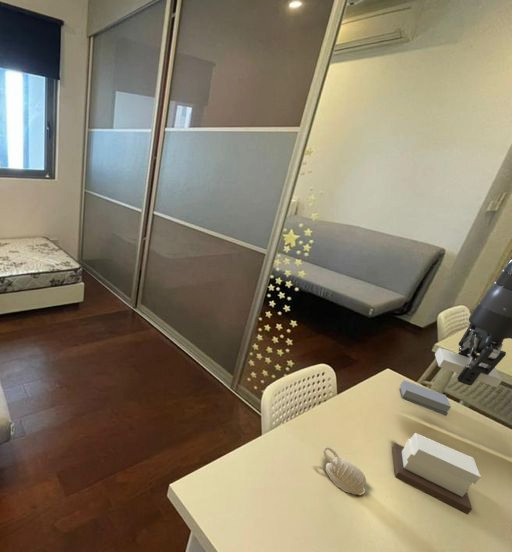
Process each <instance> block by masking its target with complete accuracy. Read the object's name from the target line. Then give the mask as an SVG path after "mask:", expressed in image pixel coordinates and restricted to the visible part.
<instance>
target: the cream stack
mask: <svg viewBox="0 0 512 552" xmlns="http://www.w3.org/2000/svg"><path fill="white" fill-rule="evenodd" d="M391 448H392V449H391V451H392V459H393V460H392V461H393V468H394V469H393V470H394V477H395V478H396V479H399V480H400V481H402V482H405V483H406V484H408V485H410V486H412V487H414V488H416V489H418V490H420V491H422V492H424V493H426V494H428V495H429V496H432V497H434V498H436V499H437V500H439V501H442V502H443V503H446V504H447V505H449V506H451V507H454V508H455V509H457V510H459V511H461V512H463V513H465V514H469V513H471V511H472V510H473V508H472V504H471V500H470V498H469V495H468V491H469V488H470V487H471V486H472V484H474V485H476V484H477V482H479V480H480V479H481V478H482V475H481V474H480V471H479V469H478V466H477V464H476V460H475V459H474V457H472V456H470V455H468V454H466V453H464V452H460V451H458V450H456V449H454V448H452V447H450V446H447V445H444V444H442V443H439V442H438V441H435V440H433V439H432V438H431V439H430V438H428V437H427V436H424V435H422V434H419V433H416V432H414V433H413V435H412V437H411V438H410V437H409V438H408V440H407V441H406V442H405V444H404V446H403V445H400V444H398V443H396V442H394V443H393V445H392V446H391Z"/></svg>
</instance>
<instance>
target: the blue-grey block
mask: <svg viewBox="0 0 512 552" xmlns="http://www.w3.org/2000/svg"><path fill="white" fill-rule="evenodd" d="M399 387H400V395H401V399H404V400H406V401H408V402H410V403H413V404H415V405H418V406H421V407H423V408H425V409H428V410H431V411H433V412H435V413H438V414H440V415H443V416H446V417H447V415H448V414H449V412H448V411H449V410H450V409H451V408H452V406H451V403H450V401H449V399H448V397H447V395H446V394H443V393H441V392H438V391H435V390H432V389H429V388H427V387H424V386H421V385H419V384H416V383H413V382H410V381H407V380H405V379H402V381H401V383H400V385H399Z"/></svg>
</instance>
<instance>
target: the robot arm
mask: <svg viewBox="0 0 512 552" xmlns="http://www.w3.org/2000/svg"><path fill="white" fill-rule="evenodd" d="M468 322H469V326H468V327H467V329H466V331H465V332H464V334H463V335H462V337H461V339H460V340H459V341H458V347H459V348H458V353H457V354H460V355H463V356H466V357H469V360H468V363H467V364H466V366H465V368H464V369H463V371H462V372H461V373H460V374H458V376H457V381H458V382H459V383H462V384H464V385H466V386H473V384H474V383H475V382H476V381H477V380H476V379H477V378H478V376H479V375H480V373H483V374H486V375H488V374H489V373H490V372H491V371H492V370H493V369H494V368H496V367H497V365H498V364H499V363H500V362H501V361H502V360H503V359H504V358H505V356H506V355H507V353H506V351H504V350H502V348H503V346H504V345H503V342H504V340H507V339H511V340H512V259H511V260H509V261H508V263H506V265H505V266H504V268H503V269H502V270H501V272H500V274H499V275H498V277H497V278H496V280H495V281H494V283H493V284H492V285H491V286H490V287H489V288H488V289H487V290H486V291H485V293H484V294H483V296H482V298H481V299H480V300H479V302H478V304H477V305H476V306H475V308H474V310H473V311H472V312H471V314H470V316H469V317H468ZM480 363H482V364H481V366H479V364H480Z"/></svg>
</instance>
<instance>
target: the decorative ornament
mask: <svg viewBox="0 0 512 552" xmlns="http://www.w3.org/2000/svg"><path fill="white" fill-rule="evenodd" d="M327 450H328V451H329V452H331V453H332V454H333V456H334V458H332V459H331V458H330V456H329V455H328V454H327ZM322 453H323V456H324V457H325V459H326V460H327V461H328V462H327V463H326V464H325V472H326V474H327V476H328V477H329V479H330V481H332V483H333V484H334V485H335V486H336V487H338V488H339V489H341V490H342V491H343V492H344V493H349V494H352V495H358V496H362V495H364V494H365V493H366V488H365V485H366V482H367V479H366V475H365V474H364V472H363V471H362V470H361V469H360V468H359V467H357V465H355V464H354V463H352V462H350V461H349V460H347V459H345V458H343V457H339V455H338V453H337V452H336V451H335V450H334V449H333V448H331V447H329V446H324V447H323V449H322Z"/></svg>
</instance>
